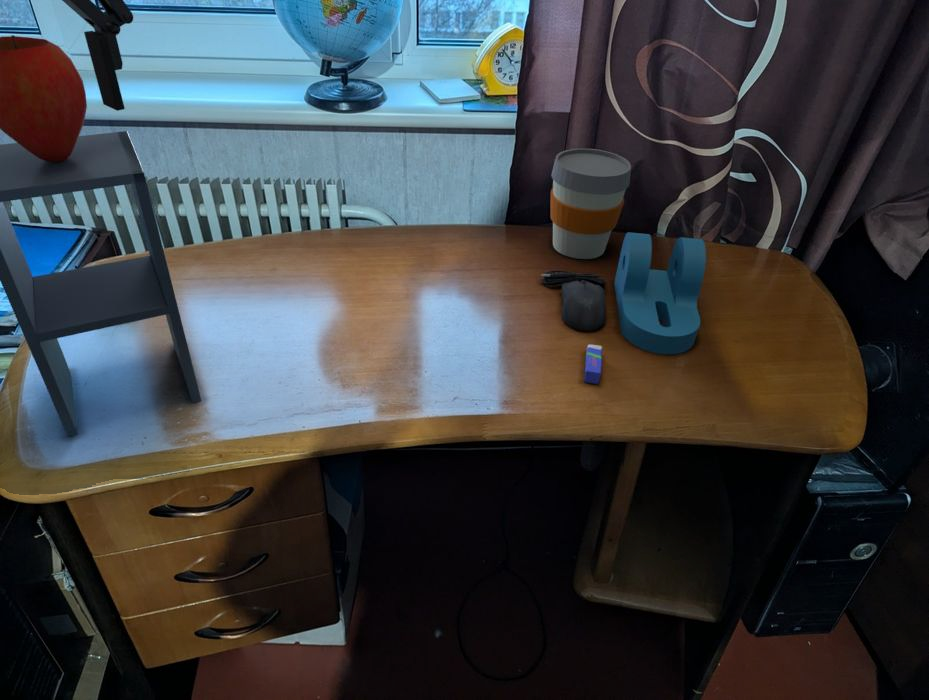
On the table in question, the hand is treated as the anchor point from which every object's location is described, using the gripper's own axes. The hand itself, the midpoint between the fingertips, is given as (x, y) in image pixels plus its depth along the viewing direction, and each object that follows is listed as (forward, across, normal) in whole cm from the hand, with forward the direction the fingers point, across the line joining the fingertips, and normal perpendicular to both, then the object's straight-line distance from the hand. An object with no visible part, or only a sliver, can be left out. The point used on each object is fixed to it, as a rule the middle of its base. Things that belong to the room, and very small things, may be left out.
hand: (40, 121), depth 60 cm
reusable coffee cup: (+31, -70, +19) cm, 79 cm away
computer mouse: (+32, -54, +29) cm, 69 cm away
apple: (+4, 0, 0) cm, 4 cm away
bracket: (+32, -59, +39) cm, 78 cm away
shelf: (+32, 0, 0) cm, 32 cm away
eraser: (+32, -42, +38) cm, 65 cm away
